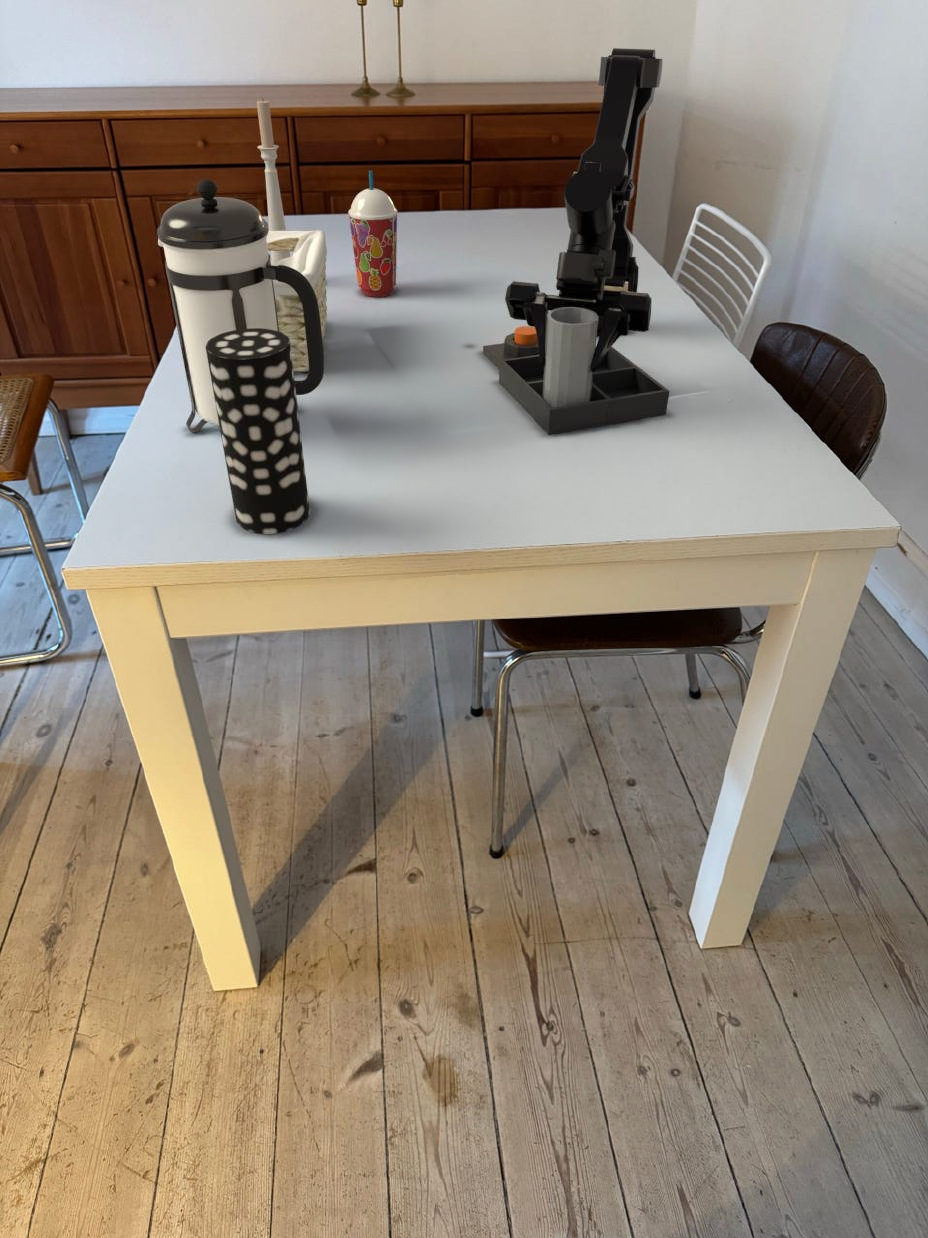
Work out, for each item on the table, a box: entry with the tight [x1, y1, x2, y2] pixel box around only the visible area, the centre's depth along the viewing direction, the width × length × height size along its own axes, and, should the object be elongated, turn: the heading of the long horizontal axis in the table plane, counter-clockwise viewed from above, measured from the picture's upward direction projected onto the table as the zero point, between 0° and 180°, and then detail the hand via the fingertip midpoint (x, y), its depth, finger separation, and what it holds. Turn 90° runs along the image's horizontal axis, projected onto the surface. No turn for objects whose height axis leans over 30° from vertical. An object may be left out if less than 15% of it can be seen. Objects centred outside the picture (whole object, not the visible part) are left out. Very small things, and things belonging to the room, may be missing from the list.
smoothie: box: [348, 170, 398, 298], centre depth 158 cm, size 8×8×20 cm
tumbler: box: [542, 307, 598, 408], centre depth 120 cm, size 6×6×13 cm
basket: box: [266, 229, 328, 372], centre depth 139 cm, size 24×16×15 cm
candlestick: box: [256, 98, 292, 263], centre depth 159 cm, size 13×13×30 cm
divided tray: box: [498, 345, 670, 435], centre depth 128 cm, size 18×18×4 cm
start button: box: [514, 325, 538, 345], centre depth 138 cm, size 4×4×2 cm
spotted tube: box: [206, 328, 311, 535], centre depth 98 cm, size 8×8×20 cm
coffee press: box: [156, 178, 325, 434], centre depth 114 cm, size 17×16×30 cm
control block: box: [482, 332, 539, 370], centre depth 139 cm, size 11×8×3 cm
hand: (567, 367), depth 119 cm, fingers closed on tumbler, 6 cm apart
